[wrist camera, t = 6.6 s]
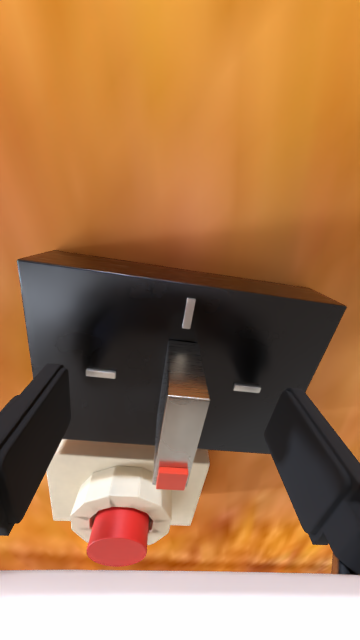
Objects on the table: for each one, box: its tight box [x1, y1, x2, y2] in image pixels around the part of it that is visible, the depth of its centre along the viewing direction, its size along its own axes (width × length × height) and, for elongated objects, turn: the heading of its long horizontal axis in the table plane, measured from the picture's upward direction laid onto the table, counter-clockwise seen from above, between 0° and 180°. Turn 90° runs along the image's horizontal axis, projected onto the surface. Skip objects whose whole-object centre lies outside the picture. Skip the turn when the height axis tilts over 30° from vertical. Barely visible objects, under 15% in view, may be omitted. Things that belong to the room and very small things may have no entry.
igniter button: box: [87, 507, 149, 566], centre depth 14 cm, size 4×4×2 cm
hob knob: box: [152, 340, 210, 491], centre depth 9 cm, size 5×1×4 cm, turn 171°
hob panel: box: [17, 250, 347, 454], centre depth 13 cm, size 14×10×3 cm
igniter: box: [47, 439, 210, 545], centre depth 17 cm, size 11×8×4 cm
